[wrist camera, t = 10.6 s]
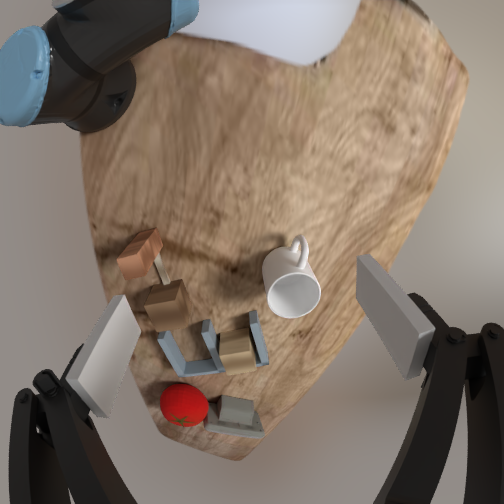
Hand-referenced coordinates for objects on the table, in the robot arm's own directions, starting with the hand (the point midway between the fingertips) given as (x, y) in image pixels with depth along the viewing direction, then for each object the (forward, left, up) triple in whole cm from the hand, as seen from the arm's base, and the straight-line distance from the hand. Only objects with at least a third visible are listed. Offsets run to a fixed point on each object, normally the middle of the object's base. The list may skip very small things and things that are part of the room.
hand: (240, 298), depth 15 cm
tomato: (+46, -26, -33) cm, 62 cm away
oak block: (+31, -8, -32) cm, 46 cm away
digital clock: (+56, -15, -33) cm, 66 cm away
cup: (+14, +5, -33) cm, 36 cm away
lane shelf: (+30, -13, -32) cm, 46 cm away
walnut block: (+12, -17, -32) cm, 38 cm away
